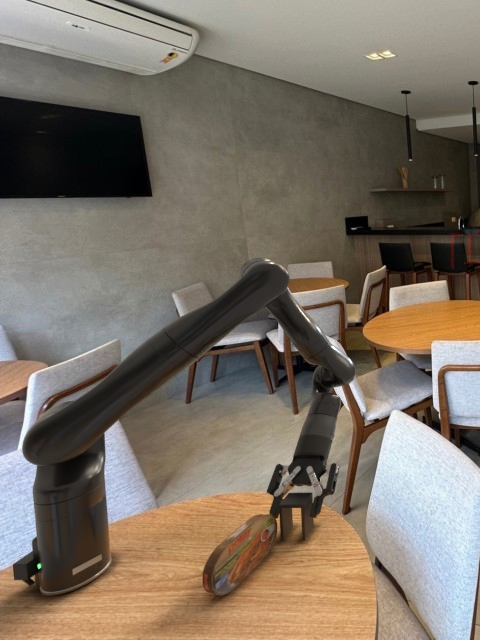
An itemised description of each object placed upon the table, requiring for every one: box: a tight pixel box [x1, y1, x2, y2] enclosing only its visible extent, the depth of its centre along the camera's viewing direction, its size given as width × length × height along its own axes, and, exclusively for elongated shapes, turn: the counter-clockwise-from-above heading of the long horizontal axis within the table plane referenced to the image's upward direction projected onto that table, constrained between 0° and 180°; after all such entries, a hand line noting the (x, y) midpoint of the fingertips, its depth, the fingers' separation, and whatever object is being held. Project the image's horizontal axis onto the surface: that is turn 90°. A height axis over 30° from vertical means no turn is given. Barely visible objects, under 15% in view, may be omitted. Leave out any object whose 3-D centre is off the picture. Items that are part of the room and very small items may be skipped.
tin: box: [202, 513, 278, 596], centre depth 79 cm, size 15×3×8 cm, turn 168°
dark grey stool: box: [279, 491, 315, 542], centre depth 89 cm, size 5×4×8 cm
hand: (293, 517), depth 88 cm, fingers open, 8 cm apart
